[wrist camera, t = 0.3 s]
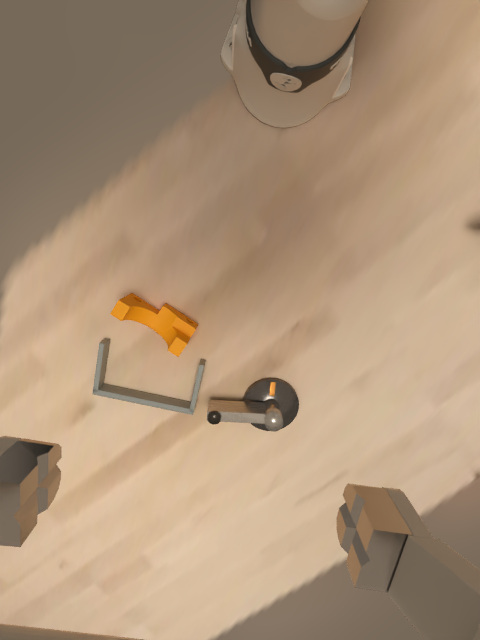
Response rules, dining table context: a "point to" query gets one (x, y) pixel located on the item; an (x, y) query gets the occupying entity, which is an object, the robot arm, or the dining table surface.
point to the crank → (246, 413)
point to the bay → (140, 396)
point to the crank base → (278, 392)
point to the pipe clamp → (157, 321)
